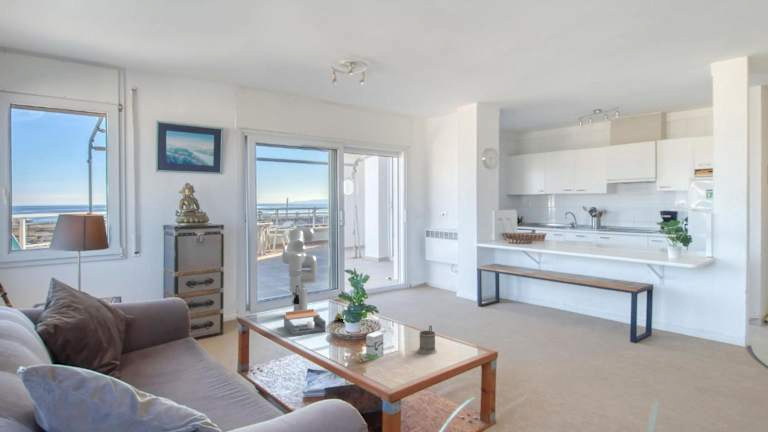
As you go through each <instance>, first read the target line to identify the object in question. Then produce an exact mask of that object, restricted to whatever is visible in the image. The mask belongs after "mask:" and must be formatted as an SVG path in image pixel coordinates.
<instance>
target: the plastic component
mask: <svg viewBox="0 0 768 432" xmlns="http://www.w3.org/2000/svg"><path fill="white" fill-rule="evenodd" d="M341 315H342V314H341V313H340V312H337V313H336V316H334V320H335V321H338V320H337V319H339V320H341V319H342V316H341Z"/></svg>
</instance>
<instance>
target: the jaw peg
mask: <svg viewBox="0 0 768 432" xmlns="http://www.w3.org/2000/svg"><path fill="white" fill-rule="evenodd" d="M295 295H296V294H295ZM296 305H299V304H296ZM291 306H294V294H293V295H292V294H291Z"/></svg>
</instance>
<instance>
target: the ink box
mask: <svg viewBox="0 0 768 432" xmlns="http://www.w3.org/2000/svg"><path fill="white" fill-rule="evenodd" d="M365 340H366V341H365V346H366V348H365V350H366V351H365V353H366V354H365V356H366V359H368V360H372V361H374V360H376V359H379V358H381V357H382V356H384V332H380V331H377V330H376V331H373V332H371V333H368V334H367V335H365Z"/></svg>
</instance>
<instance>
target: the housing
mask: <svg viewBox="0 0 768 432" xmlns="http://www.w3.org/2000/svg"><path fill="white" fill-rule="evenodd" d="M312 318H313V320H310V321H307V323H306V324H305V325H298V326H296V325H294V323H293V322H292V320H287V319H286V318H285V317H284V316H283V327H284V329H286V331H287V333H289V334H290V336H291V337H298V336H299V337H300V336H302V337H303V336H307V335H313V334H314V335H315V334H322V333H326V329H327V328H326V323H327V322H326V320H325V319H323V317H321V315H320V316H317V317H312Z"/></svg>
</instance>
